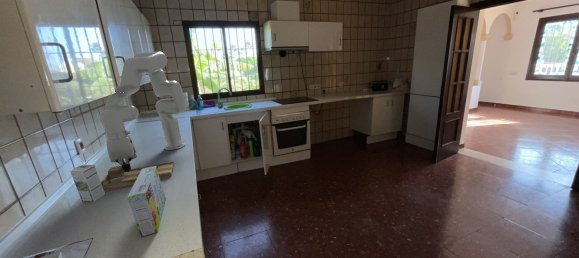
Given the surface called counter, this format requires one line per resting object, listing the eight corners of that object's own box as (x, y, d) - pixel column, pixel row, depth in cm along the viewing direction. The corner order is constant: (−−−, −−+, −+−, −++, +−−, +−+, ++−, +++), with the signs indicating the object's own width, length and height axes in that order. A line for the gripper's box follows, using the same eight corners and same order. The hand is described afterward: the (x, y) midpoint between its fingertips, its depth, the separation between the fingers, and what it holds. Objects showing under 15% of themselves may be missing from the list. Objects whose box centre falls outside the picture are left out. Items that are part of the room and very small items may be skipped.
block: (112, 174, 115) (110, 167, 114) (124, 172, 117) (122, 165, 115) (110, 179, 110) (107, 171, 109) (122, 176, 112) (120, 169, 111)
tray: (113, 177, 116) (110, 170, 115) (174, 165, 125) (172, 158, 124) (102, 191, 104) (99, 183, 103) (171, 177, 113) (169, 169, 111)
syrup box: (105, 194, 101) (95, 163, 97) (93, 202, 96) (82, 170, 91) (93, 194, 102) (83, 164, 98) (81, 202, 96) (69, 170, 92)
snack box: (150, 202, 93) (141, 168, 88) (166, 198, 95) (157, 164, 90) (139, 238, 74) (126, 196, 69) (158, 232, 76) (147, 192, 71)
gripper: (137, 130, 115) (146, 164, 120) (101, 136, 110) (112, 171, 115) (133, 135, 108) (143, 170, 113) (94, 140, 103) (106, 177, 109)
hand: (127, 171), depth 114 cm, fingers closed
